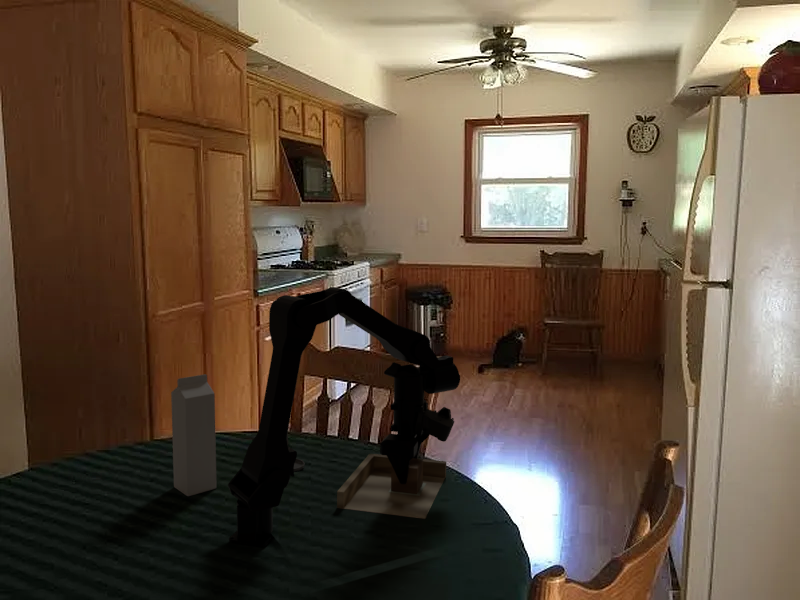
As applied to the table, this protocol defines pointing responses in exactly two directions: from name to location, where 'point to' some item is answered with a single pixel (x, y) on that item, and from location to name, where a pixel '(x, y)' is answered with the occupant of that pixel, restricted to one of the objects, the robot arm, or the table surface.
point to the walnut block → (409, 478)
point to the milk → (193, 435)
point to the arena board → (389, 489)
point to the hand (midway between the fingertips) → (407, 476)
